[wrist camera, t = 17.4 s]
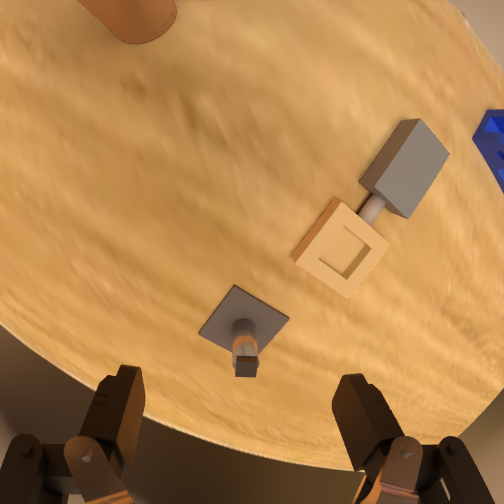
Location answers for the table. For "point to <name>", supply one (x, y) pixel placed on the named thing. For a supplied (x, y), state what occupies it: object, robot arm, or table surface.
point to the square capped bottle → (244, 348)
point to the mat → (242, 307)
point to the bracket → (492, 142)
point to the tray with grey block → (372, 209)
